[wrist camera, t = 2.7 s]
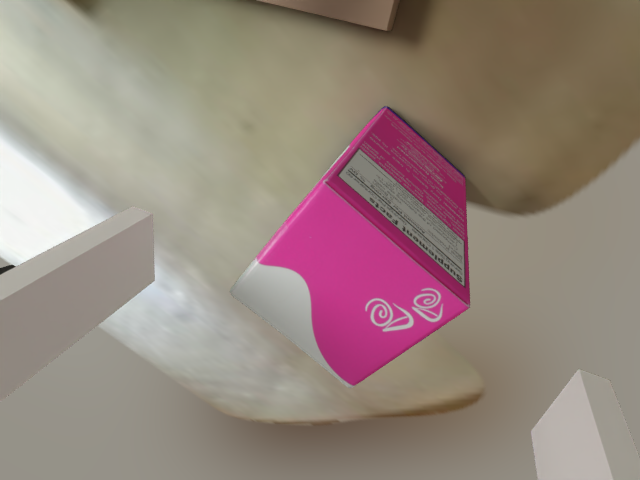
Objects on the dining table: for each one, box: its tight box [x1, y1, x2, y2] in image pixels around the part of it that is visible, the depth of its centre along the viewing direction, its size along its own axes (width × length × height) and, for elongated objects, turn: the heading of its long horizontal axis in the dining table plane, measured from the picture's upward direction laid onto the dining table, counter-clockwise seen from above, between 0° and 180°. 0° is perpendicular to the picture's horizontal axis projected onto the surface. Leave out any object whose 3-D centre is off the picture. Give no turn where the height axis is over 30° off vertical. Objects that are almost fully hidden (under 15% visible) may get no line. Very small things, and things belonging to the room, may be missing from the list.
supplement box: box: [230, 106, 470, 388], centre depth 17 cm, size 6×6×12 cm
